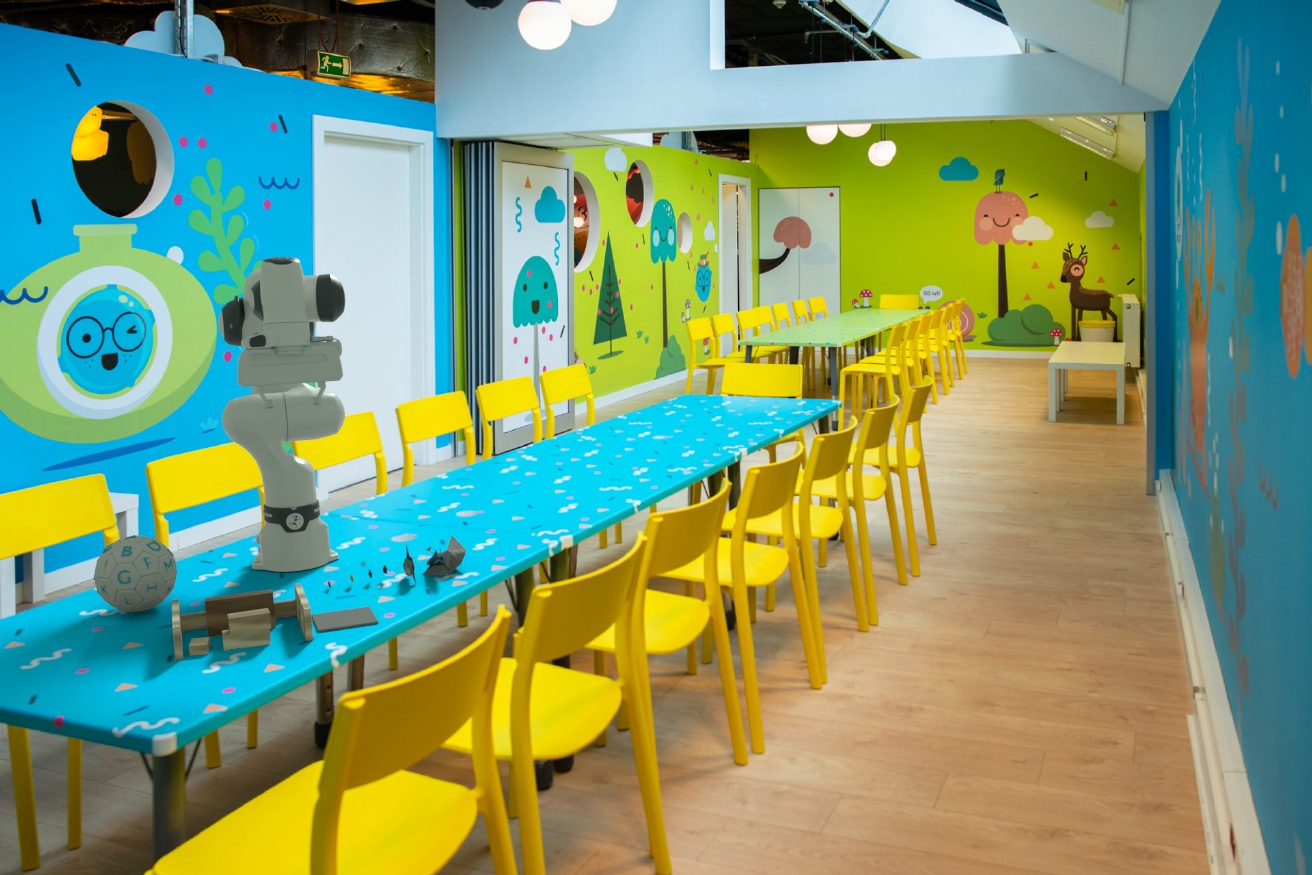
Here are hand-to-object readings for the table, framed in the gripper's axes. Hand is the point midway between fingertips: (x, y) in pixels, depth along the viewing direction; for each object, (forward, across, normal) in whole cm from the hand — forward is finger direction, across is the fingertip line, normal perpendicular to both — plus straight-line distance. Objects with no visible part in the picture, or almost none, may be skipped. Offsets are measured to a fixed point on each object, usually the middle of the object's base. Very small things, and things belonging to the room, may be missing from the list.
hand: (293, 406), depth 231 cm
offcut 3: (+42, +13, +24) cm, 50 cm away
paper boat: (+38, -30, -8) cm, 49 cm away
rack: (+41, +14, +18) cm, 47 cm away
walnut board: (+41, +14, +15) cm, 46 cm away
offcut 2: (+39, +13, +24) cm, 47 cm away
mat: (+41, -5, +18) cm, 45 cm away
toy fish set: (+39, -17, -1) cm, 43 cm away
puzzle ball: (+38, +32, -7) cm, 51 cm away
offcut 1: (+42, +21, +23) cm, 52 cm away
